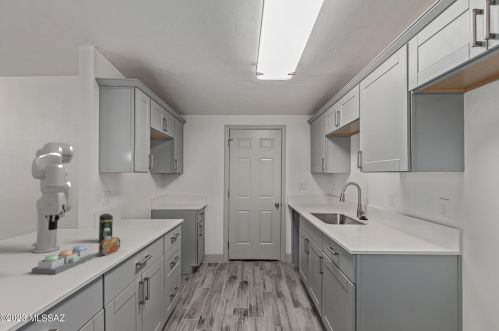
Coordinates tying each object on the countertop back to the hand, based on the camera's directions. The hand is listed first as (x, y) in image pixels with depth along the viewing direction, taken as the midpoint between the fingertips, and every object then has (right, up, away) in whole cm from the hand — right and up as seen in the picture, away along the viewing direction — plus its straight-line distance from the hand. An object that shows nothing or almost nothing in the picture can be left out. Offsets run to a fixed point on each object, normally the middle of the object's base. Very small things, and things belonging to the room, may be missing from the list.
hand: (52, 229), depth 126 cm
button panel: (+1, -19, +8) cm, 21 cm away
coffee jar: (-5, -22, +56) cm, 60 cm away
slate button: (+2, -16, +16) cm, 23 cm away
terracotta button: (+1, -16, +8) cm, 18 cm away
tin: (+12, -21, +28) cm, 37 cm away
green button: (0, -15, -1) cm, 15 cm away
